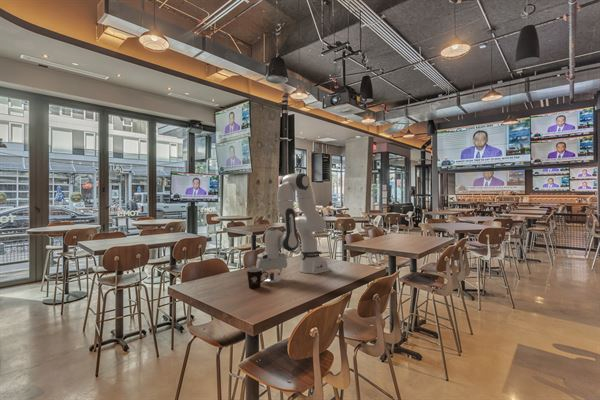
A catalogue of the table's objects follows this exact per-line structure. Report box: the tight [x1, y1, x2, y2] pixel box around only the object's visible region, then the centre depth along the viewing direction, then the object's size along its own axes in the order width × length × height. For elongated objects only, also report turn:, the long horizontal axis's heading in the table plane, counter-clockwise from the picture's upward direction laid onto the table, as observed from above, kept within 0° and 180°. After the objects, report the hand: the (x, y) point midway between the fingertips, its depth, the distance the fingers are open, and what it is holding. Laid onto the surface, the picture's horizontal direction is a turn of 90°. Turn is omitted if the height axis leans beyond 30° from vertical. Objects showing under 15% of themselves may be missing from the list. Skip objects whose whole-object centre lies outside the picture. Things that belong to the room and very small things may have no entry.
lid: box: [261, 271, 282, 284], centre depth 189 cm, size 12×12×5 cm
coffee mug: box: [246, 267, 269, 290], centre depth 174 cm, size 12×9×10 cm
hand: (271, 276), depth 189 cm, fingers open, 8 cm apart
